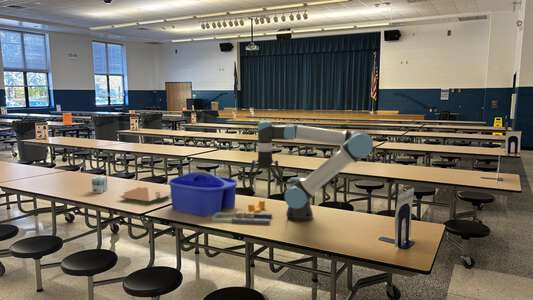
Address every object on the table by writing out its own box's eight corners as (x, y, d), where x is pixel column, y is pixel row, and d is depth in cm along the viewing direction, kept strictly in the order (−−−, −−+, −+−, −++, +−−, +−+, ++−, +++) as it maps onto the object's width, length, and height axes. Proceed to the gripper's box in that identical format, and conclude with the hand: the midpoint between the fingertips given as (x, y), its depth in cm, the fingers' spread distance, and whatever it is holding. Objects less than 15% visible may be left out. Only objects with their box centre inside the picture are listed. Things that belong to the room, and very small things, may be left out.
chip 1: (245, 218, 207) (245, 211, 206) (243, 220, 203) (243, 213, 202) (238, 217, 207) (238, 210, 207) (236, 220, 204) (236, 213, 203)
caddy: (193, 197, 256) (192, 163, 253) (247, 206, 234) (247, 170, 231) (158, 209, 230) (157, 171, 226) (216, 221, 207) (215, 179, 204)
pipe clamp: (254, 216, 215) (254, 205, 214) (248, 215, 217) (248, 204, 216) (267, 211, 224) (266, 201, 223) (261, 210, 227) (261, 200, 226)
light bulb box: (101, 193, 266) (100, 178, 264) (92, 193, 266) (91, 178, 264) (108, 189, 276) (107, 175, 275) (99, 189, 276) (98, 175, 275)
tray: (236, 217, 212) (236, 212, 212) (231, 224, 201) (231, 219, 200) (216, 216, 214) (216, 211, 213) (210, 223, 202) (210, 218, 202)
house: (153, 206, 235) (152, 194, 234) (114, 200, 249) (113, 188, 248) (176, 197, 256) (175, 186, 255) (139, 192, 269) (138, 181, 268)
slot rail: (272, 219, 210) (272, 213, 209) (269, 227, 197) (269, 220, 196) (237, 217, 212) (237, 211, 212) (232, 225, 200) (232, 219, 199)
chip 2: (254, 218, 206) (254, 211, 206) (252, 221, 202) (252, 213, 202) (247, 218, 207) (246, 211, 206) (245, 220, 203) (245, 213, 202)
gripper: (287, 149, 200) (287, 189, 203) (244, 149, 203) (245, 188, 206) (286, 151, 193) (286, 193, 196) (242, 151, 196) (242, 192, 199)
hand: (265, 191), depth 201 cm, fingers open, 11 cm apart
